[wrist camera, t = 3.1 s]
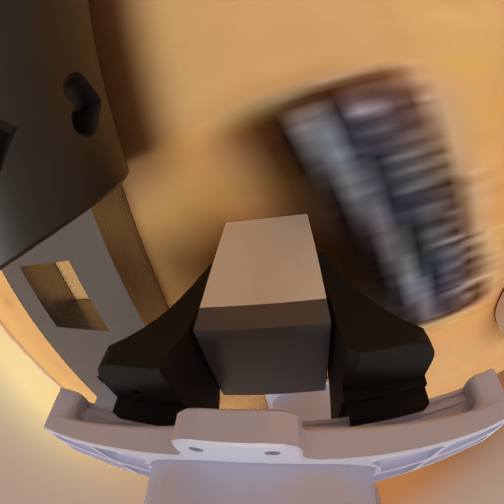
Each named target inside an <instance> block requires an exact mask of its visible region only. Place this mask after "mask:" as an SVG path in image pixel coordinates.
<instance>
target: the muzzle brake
mask: <svg viewBox="0 0 504 504" xmlns="http://www.w3.org/2000/svg"><path fill="white" fill-rule="evenodd" d="M128 173H129V168H128V165H127V162H126V159H125V156H124V153H123V150H122V147H121V144H120V140H119V137H118V134H117V130H116V127H115V123H114V120H113V116H112V113H111V109H110V105H109V102H108V98H107V94H106V90H105V86H104V82H103V77H102V73H101V69H100V64H99V60H98V55H97V50H96V45H95V39H94V34H93V28H92V22H91V16H90V9H89V2H88V0H0V270H2V269H3V268H4V267H6V266H7V265H9V264H10V263H12V262H13V261H15V260H16V259H18V258H20V257H21V256H23V255H24V254H25V253H27V252H28V251H30V250H31V249H33V248H34V247H36V246H37V245H39V244H40V243H42V242H43V241H45V240H46V239H48V238H49V237H50V236H52V235H53V234H55V233H56V232H57V231H59V230H60V229H62V228H63V227H65V226H66V225H68V224H69V223H71V222H72V221H73V220H75V219H76V218H78V217H79V216H80V215H82V214H83V213H85V212H86V211H87V210H89V209H90V208H92V207H93V206H95V205H96V204H97V203H98V202H100V201H101V200H102V199H104V198H105V197H106V196H108V195H109V194H110V193H112V192H113V191H114V190H115V189H116V188H117V187H118V186H120V185H121V184H122V182H123V181H124V180H125V179H126V177H127V175H128Z"/></svg>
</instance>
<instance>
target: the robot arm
mask: <svg viewBox="0 0 504 504" xmlns="http://www.w3.org/2000/svg"><path fill="white" fill-rule="evenodd" d="M317 257H318V261H319V266H320V270H321V275H322V279H323V284H324V289H325V294H326V299H327V304H328V309H329V314H330V319H331V331H330V346H329V358H328V378H329V379H327V380H326V389H325V390H323V391H313V392H301V393H287V394H265V396H266V400H267V404H268V407H269V409H219V400H220V387H219V385H218V383H217V381H216V379H215V377H214V375H213V373H212V371H211V368H210V366H209V364H208V362H207V360H206V358H205V356H204V354H203V352H202V349H201V347H200V345H199V343H198V341H197V338H196V336H195V334H194V332H193V329H194V326H195V322H196V319H197V315H198V312H199V308H200V305H201V301H202V298H203V295H204V291H205V288H206V285H207V281H208V278H209V275H210V271H211V268H212V265H213V263H212V264H211V265H210V266H209V267H208V268H207V269H206V270H205V272H204V273H203V274H202V275H201V276H200V277H199V279H198V280H197V281H196V282H195V283H194V284H193V285H192V287H191V288H190V289H189V290H188V291H187V292H186V293H185V294H184V295H183V296H182V297H181V298H180V299H179V300H178V301H177V302H176V303H175V304H174V305H173V306H172V307H170V308H169V309H168V310H167V311H166V312H165V313H163V314H162V315H161V316H159V317H158V318H157V319H155V320H154V321H152V322H151V323H150V324H148V325H147V326H145V327H144V328H142V329H141V330H139V331H137V332H135V333H134V334H132V335H130V336H128V337H126V338H124V339H122V340H120V341H118V342H116V343H114V344H112V345H109V346H108V348H107V350H106V352H105V354H104V356H103V358H102V361H101V363H100V365H99V367H98V374H99V377H100V378H101V380H102V381H103V382H104V383H105V385H106V386H107V387H108V388H109V389H110V390H111V391H112V392H113V393H114V394H115V395H116V396H117V400H116V403H115V405H114V408H110V407H106V406H102V405H98V404H94V403H90V402H88V400H87V399H86V398H85V397H84V396H82V395H81V394H79V393H78V392H75V391H71V390H68V389H65V388H61V389H60V392H59V394H58V396H57V398H56V400H55V402H54V405H53V407H52V409H51V411H50V414H49V416H48V418H47V421H46V423H45V426H44V429H45V430H47V431H48V432H49V433H51V434H52V435H54V436H55V437H56V438H58V439H60V440H61V441H63V442H64V443H65V444H67V445H68V446H70V447H71V448H73V449H74V450H76V451H79V452H81V453H84V454H86V455H88V456H91V457H93V458H96V459H99V460H101V461H104V462H106V463H109V464H111V465H114V466H117V467H120V468H123V469H126V470H128V471H132V472H135V473H138V474H141V475H144V476H148V477H150V478H149V482H148V487H147V491H146V496H145V501H144V504H381V501H380V496H379V492H378V489H377V488H376V487H375V486H374V482H376V481H380V480H384V479H387V478H391V477H394V476H397V475H401V474H404V473H407V472H410V471H413V470H416V469H419V468H421V467H424V466H427V465H429V464H432V463H434V462H437V461H439V460H442V459H444V458H447V457H449V456H451V455H454V454H456V453H458V452H460V451H463V450H465V449H467V448H469V447H471V446H473V445H475V444H478V443H480V442H482V441H483V440H484V439H486V438H487V437H488V436H490V435H491V434H492V433H493V432H495V431H496V430H497V429H498V428H500V427H501V426H502V425H503V424H504V392H503V389H502V387H501V384H500V382H499V379H498V377H497V375H496V373H495V370H494V369H490V370H487V371H485V372H482V373H480V374H477V375H475V376H473V377H472V378H470V379H469V380H468V381H467V382H466V384H465V385H464V387H463V388H462V389H459V390H456V391H453V392H450V393H447V394H444V395H441V396H438V397H435V398H431V399H428V396H427V393H426V390H425V386H426V385H427V381H426V378H425V373H426V372H427V370H428V368H429V366H430V364H431V362H432V360H433V358H434V349H433V346H432V344H431V342H430V340H429V338H428V336H427V334H426V333H425V331H424V329H423V328H421V327H419V326H417V325H414V324H412V323H410V322H407V321H405V320H403V319H401V318H399V317H397V316H395V315H393V314H392V313H390V312H388V311H387V310H385V309H384V308H382V307H381V306H379V305H377V304H376V303H375V302H373V301H372V300H370V299H369V298H368V297H367V296H366V295H364V294H363V293H362V292H361V291H360V290H359V289H358V288H357V287H356V286H355V285H354V284H353V283H352V282H351V281H350V280H349V279H348V278H347V277H346V276H345V275H344V274H343V273H342V272H341V271H340V269H339V268H338V267H337V266H336V264H335V263H334V262H333V261H332V259H331V258H330V257H329V255H328V254H327V253H326V252H322V253H317Z"/></svg>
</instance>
